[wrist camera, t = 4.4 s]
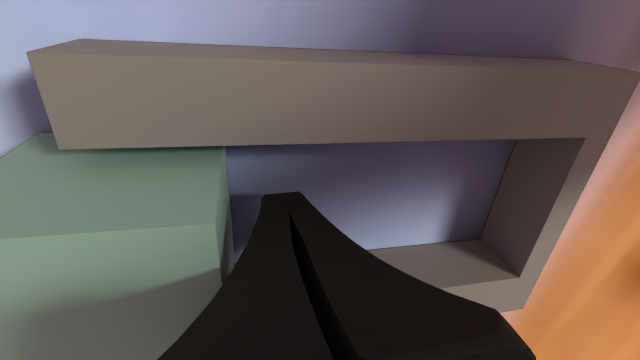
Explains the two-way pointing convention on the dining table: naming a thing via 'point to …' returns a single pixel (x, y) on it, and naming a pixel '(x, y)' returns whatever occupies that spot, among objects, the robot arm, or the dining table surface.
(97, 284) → the block
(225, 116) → the chute
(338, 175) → the dining table surface
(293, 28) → the dining table surface
